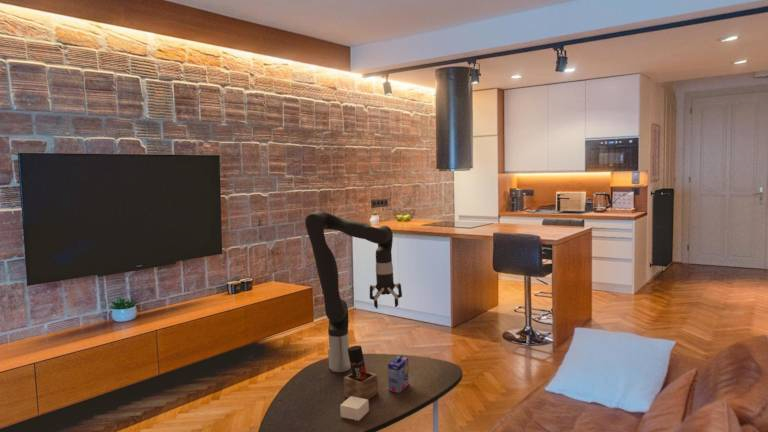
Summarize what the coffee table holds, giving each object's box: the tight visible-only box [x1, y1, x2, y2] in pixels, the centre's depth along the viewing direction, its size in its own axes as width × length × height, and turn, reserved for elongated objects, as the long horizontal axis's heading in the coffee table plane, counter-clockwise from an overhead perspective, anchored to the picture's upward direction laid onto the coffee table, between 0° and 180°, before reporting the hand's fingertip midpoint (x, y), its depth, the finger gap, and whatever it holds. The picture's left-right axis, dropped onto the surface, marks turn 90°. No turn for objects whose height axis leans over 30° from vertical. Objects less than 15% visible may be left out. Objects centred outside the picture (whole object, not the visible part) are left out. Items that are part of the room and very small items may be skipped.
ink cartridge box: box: [387, 354, 409, 394], centre depth 227 cm, size 10×6×14 cm, turn 152°
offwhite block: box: [339, 396, 370, 422], centre depth 207 cm, size 8×8×5 cm
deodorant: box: [347, 345, 367, 382], centre depth 222 cm, size 6×6×15 cm
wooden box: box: [343, 370, 379, 401], centre depth 223 cm, size 10×10×8 cm
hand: (386, 307), depth 236 cm, fingers open, 8 cm apart
